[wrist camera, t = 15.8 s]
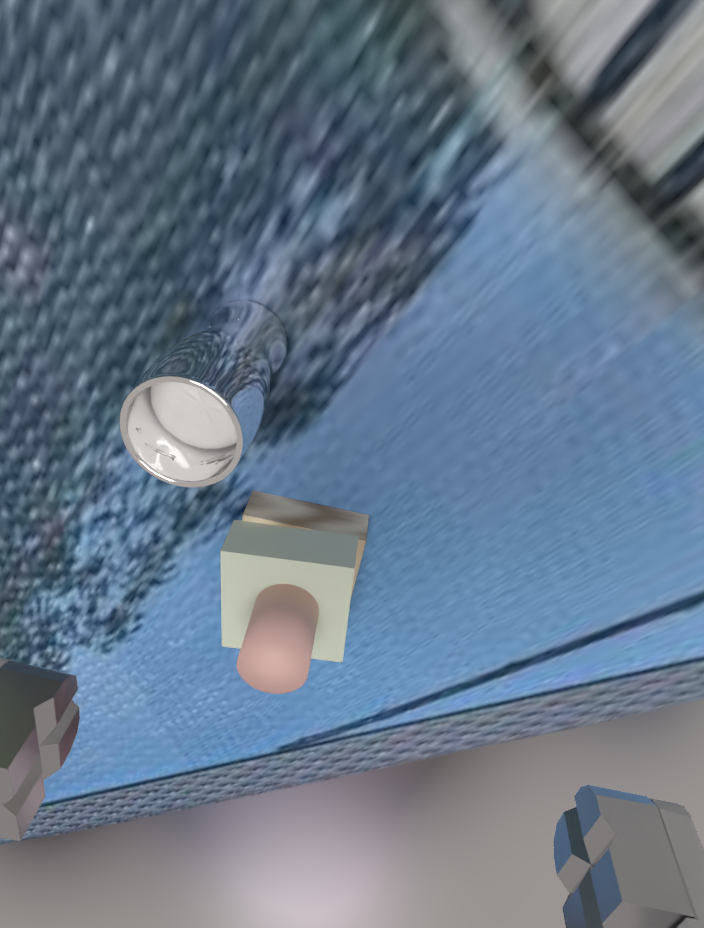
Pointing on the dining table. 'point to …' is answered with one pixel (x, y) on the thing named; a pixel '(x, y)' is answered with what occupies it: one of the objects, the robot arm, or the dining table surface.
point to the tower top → (288, 578)
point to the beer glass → (205, 397)
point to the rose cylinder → (279, 639)
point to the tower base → (308, 518)
